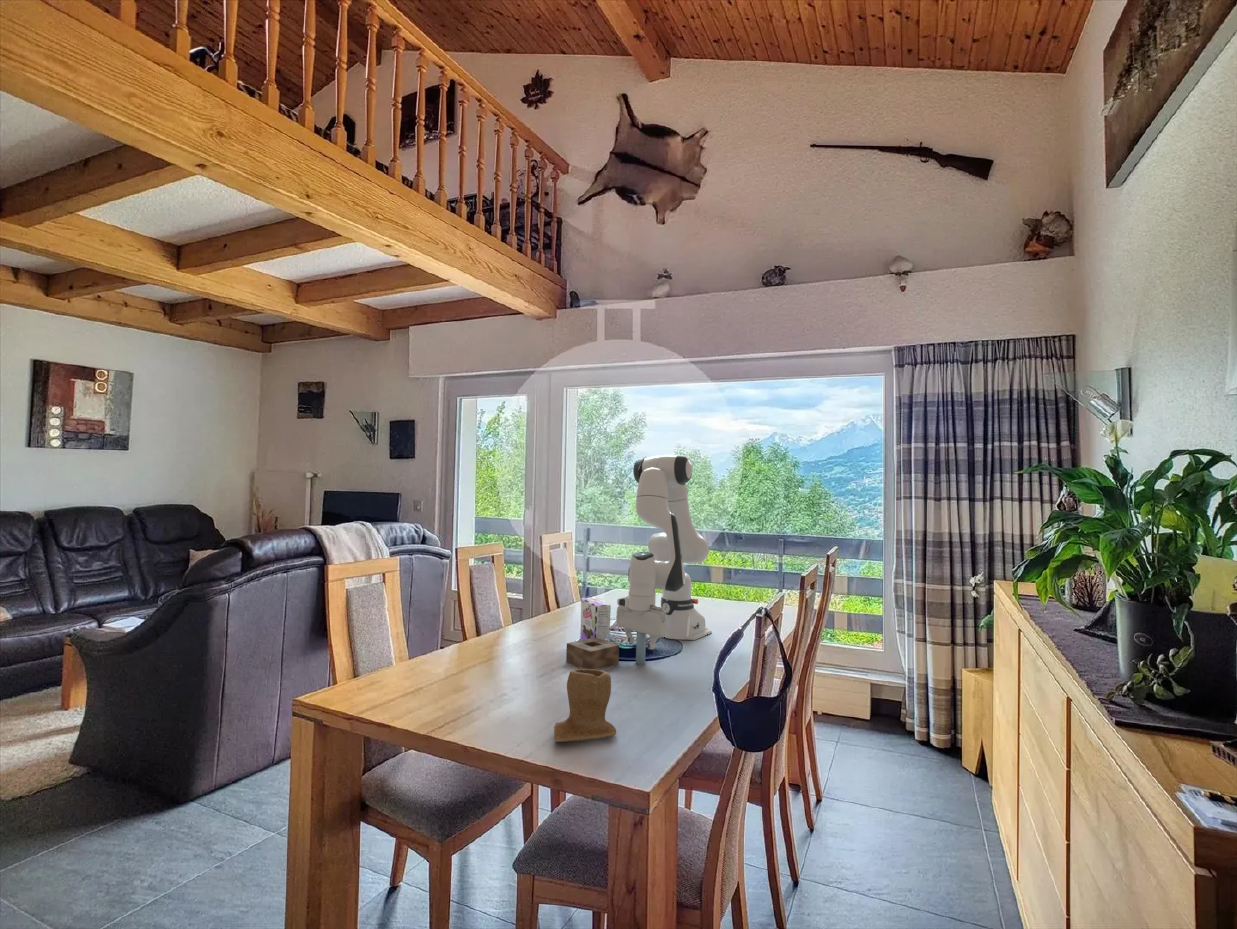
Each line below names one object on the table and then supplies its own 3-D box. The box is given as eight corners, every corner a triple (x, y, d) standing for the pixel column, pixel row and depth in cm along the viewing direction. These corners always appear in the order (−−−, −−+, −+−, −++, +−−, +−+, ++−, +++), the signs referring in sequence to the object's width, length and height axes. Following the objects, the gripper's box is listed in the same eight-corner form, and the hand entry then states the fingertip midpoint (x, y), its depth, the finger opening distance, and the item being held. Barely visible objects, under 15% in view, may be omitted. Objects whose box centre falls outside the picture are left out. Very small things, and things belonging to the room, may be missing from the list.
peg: (640, 661, 204) (641, 624, 204) (647, 663, 201) (647, 626, 202) (633, 663, 202) (634, 625, 202) (640, 665, 199) (641, 627, 200)
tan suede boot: (606, 722, 153) (608, 661, 153) (620, 742, 141) (622, 676, 142) (545, 728, 148) (547, 665, 148) (555, 749, 137) (557, 681, 137)
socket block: (594, 655, 209) (594, 637, 209) (618, 663, 200) (619, 645, 200) (566, 661, 201) (566, 643, 201) (590, 670, 192) (590, 651, 192)
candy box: (579, 643, 223) (580, 597, 224) (594, 641, 226) (595, 596, 226) (594, 653, 211) (595, 605, 211) (610, 652, 213) (611, 604, 214)
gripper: (672, 607, 196) (670, 651, 196) (627, 596, 211) (626, 637, 211) (658, 609, 192) (657, 654, 192) (613, 598, 207) (612, 640, 207)
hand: (640, 645), depth 202 cm, fingers open, 8 cm apart
